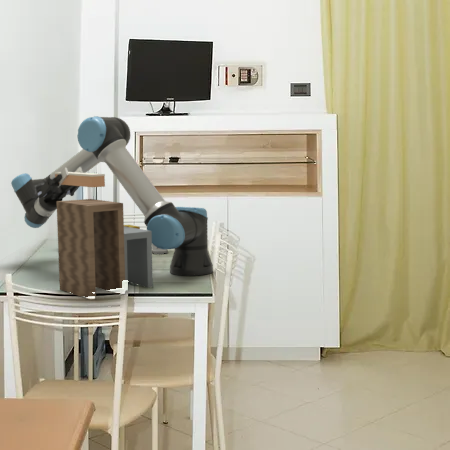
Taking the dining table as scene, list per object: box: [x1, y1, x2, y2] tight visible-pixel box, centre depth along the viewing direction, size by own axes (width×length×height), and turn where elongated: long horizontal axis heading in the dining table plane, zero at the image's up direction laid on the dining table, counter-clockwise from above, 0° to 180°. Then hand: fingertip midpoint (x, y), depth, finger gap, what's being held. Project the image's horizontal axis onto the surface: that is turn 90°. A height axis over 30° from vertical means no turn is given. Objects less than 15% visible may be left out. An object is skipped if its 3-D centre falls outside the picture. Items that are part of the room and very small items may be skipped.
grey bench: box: [124, 226, 154, 288], centre depth 245 cm, size 18×11×18 cm, turn 39°
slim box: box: [55, 172, 106, 188], centre depth 250 cm, size 26×5×4 cm, turn 39°
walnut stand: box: [56, 198, 125, 297], centre depth 234 cm, size 20×12×28 cm, turn 39°
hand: (73, 170), depth 252 cm, fingers closed on slim box, 5 cm apart
